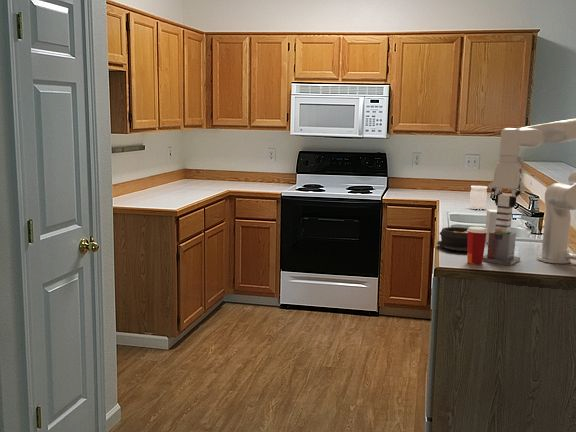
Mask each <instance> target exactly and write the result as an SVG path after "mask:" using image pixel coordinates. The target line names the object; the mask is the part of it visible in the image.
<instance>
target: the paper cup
mask: <svg viewBox="0 0 576 432" xmlns="http://www.w3.org/2000/svg"><path fill="white" fill-rule="evenodd" d="M467 228H468V230H467V231H468V247H467V251H466V252H467V254H466V255H467V256H466V258H467V259H466V261H467V264H469V265H474V266H480V265H481V266H482V264H483V262H484V261H483V256H485V255H484V254H485V247H486V234H487V229H486V227H483V226H482V227H481V226H469V227H467Z"/></svg>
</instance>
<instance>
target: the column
mask: <svg viewBox="0 0 576 432" xmlns="http://www.w3.org/2000/svg"><path fill="white" fill-rule="evenodd" d="M511 197H512V194H504V193H500V195H498V206H496V208H497V209H496V210H497V218H496V230H495V233H499V234H507V235H508V234H510V232H511V228H512V227H511V226H512V214H513V207H510V202H511Z"/></svg>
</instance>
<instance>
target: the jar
mask: <svg viewBox="0 0 576 432" xmlns="http://www.w3.org/2000/svg"><path fill="white" fill-rule="evenodd" d="M470 188H471V189H470V192H469V201H470V203H469V204H470V205H471V206H470V209H471V210H473V209H478V210H477V211H480V210H479V209H484V210H485V205H486V203H487V199H488V193H487V192H488V190H487V189H488V188H489V187H488V185H479V184H478V185H471V186H470Z"/></svg>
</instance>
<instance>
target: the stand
mask: <svg viewBox="0 0 576 432" xmlns="http://www.w3.org/2000/svg"><path fill="white" fill-rule="evenodd" d="M516 238H517V233H516V232H512V231H510V234H508V235H507V234H499V233H495V231H492V232H490V233H489V241H488V244H487V252H486V253H487V254H485V255H483V261H482V262H483V263H490V264H495V265H496V264H498V265H503V266H509V267H511V266H513V265H515V264H517V263H519V262H521V257H520V256H515V250H516V249H515V247H516Z"/></svg>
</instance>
